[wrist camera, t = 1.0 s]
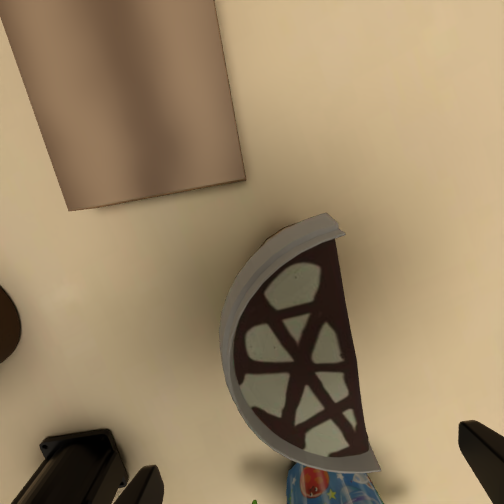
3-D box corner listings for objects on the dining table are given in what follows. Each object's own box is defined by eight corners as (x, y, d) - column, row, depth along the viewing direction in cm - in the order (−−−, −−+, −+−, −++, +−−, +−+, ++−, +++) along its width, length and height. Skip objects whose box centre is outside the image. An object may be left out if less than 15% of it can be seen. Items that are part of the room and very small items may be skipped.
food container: (213, 222, 19) (172, 257, 9) (295, 202, 18) (343, 217, 9) (252, 362, 22) (252, 502, 12) (323, 347, 21) (382, 480, 12)
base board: (97, 207, 19) (68, 211, 16) (15, -47, 15) (-42, -104, 12) (246, 179, 18) (245, 178, 15) (198, -90, 14) (184, -160, 12)
